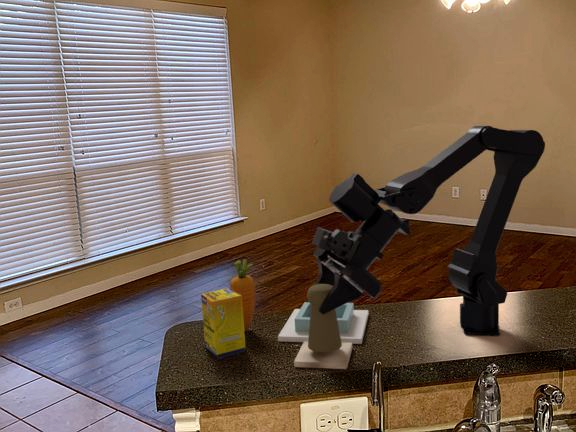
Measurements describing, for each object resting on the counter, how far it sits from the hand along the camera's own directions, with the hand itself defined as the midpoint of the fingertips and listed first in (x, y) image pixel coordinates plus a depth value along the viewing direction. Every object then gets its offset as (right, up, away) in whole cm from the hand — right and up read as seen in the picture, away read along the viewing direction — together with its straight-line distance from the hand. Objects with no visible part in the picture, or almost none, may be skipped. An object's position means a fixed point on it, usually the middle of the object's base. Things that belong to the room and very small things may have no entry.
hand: (315, 308), depth 100 cm
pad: (+2, -9, +2) cm, 9 cm away
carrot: (-13, -8, +17) cm, 23 cm away
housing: (+3, -7, +16) cm, 18 cm away
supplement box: (-17, -9, +8) cm, 20 cm away
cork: (+2, -7, +2) cm, 7 cm away
